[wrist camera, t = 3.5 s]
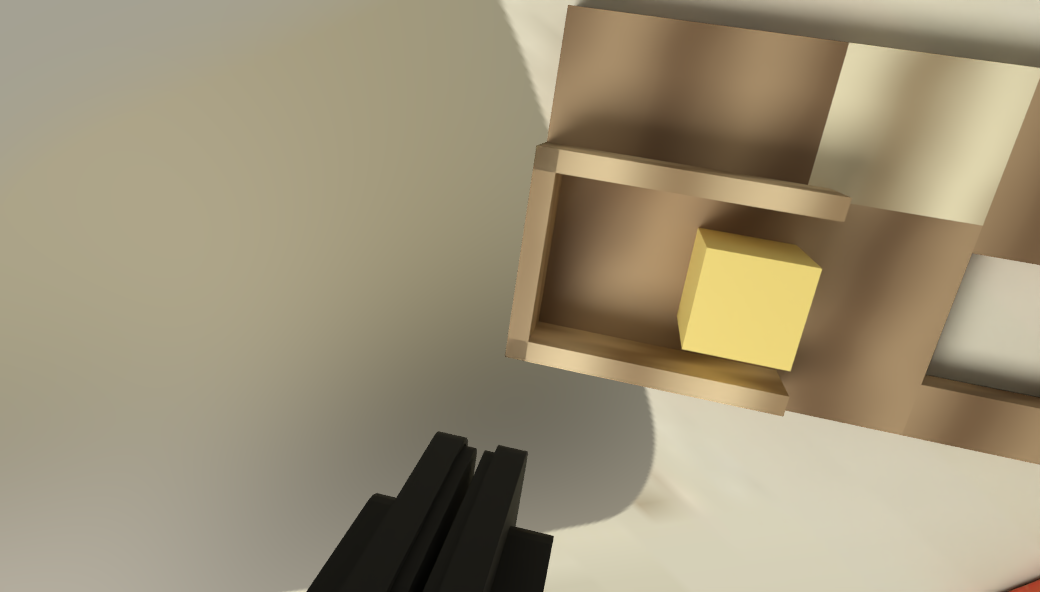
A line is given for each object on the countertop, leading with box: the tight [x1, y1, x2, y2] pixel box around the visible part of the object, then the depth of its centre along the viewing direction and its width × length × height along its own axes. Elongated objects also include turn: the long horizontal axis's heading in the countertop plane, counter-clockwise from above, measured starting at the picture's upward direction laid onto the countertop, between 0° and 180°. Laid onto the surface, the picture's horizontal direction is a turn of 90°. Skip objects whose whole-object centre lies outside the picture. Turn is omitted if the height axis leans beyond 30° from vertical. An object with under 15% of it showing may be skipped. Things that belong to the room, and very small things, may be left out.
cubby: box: [505, 142, 852, 416], centre depth 29 cm, size 13×10×3 cm
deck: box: [539, 5, 1040, 464], centre depth 29 cm, size 29×17×2 cm, turn 82°
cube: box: [677, 228, 822, 371], centre depth 28 cm, size 4×4×4 cm
